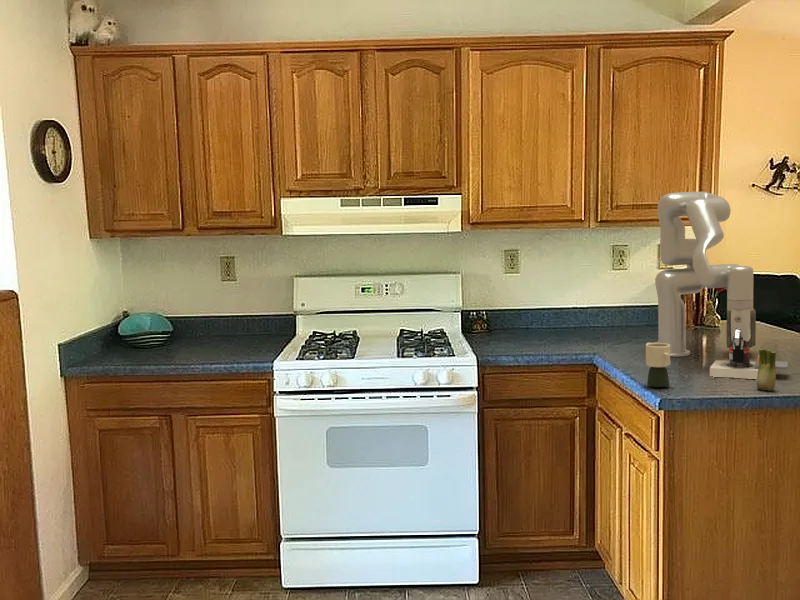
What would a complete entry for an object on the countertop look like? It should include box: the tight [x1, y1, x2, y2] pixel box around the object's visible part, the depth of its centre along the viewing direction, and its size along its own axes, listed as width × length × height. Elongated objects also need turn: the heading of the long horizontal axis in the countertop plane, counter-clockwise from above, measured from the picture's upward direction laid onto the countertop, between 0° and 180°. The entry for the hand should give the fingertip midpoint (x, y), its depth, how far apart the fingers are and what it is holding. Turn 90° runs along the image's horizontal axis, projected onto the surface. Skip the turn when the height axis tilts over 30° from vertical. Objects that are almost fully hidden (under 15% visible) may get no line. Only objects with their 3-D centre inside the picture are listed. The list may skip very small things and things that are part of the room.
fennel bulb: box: [756, 348, 777, 391], centre depth 217 cm, size 6×5×12 cm
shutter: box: [754, 354, 789, 371], centre depth 234 cm, size 9×9×3 cm
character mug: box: [645, 342, 672, 388], centre depth 226 cm, size 11×7×13 cm, turn 15°
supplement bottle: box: [728, 340, 751, 368], centre depth 238 cm, size 6×6×11 cm
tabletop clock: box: [726, 308, 757, 349], centre depth 267 cm, size 14×9×25 cm, turn 158°
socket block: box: [709, 359, 759, 379], centre depth 239 cm, size 16×14×3 cm
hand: (739, 358), depth 238 cm, fingers open, 8 cm apart
